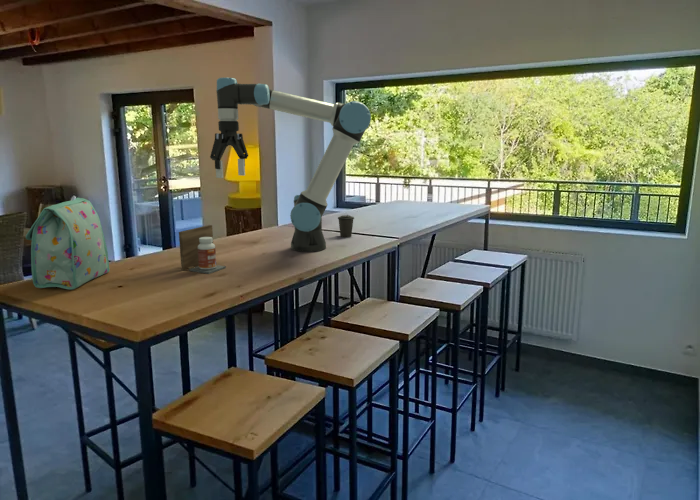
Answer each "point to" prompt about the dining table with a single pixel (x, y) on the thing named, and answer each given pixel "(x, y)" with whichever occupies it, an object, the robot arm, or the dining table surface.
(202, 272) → the coaster
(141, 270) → the dining table surface
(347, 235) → the coffee cup
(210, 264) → the pill bottle
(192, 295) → the dining table surface
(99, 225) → the lunch bag
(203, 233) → the wooden board
